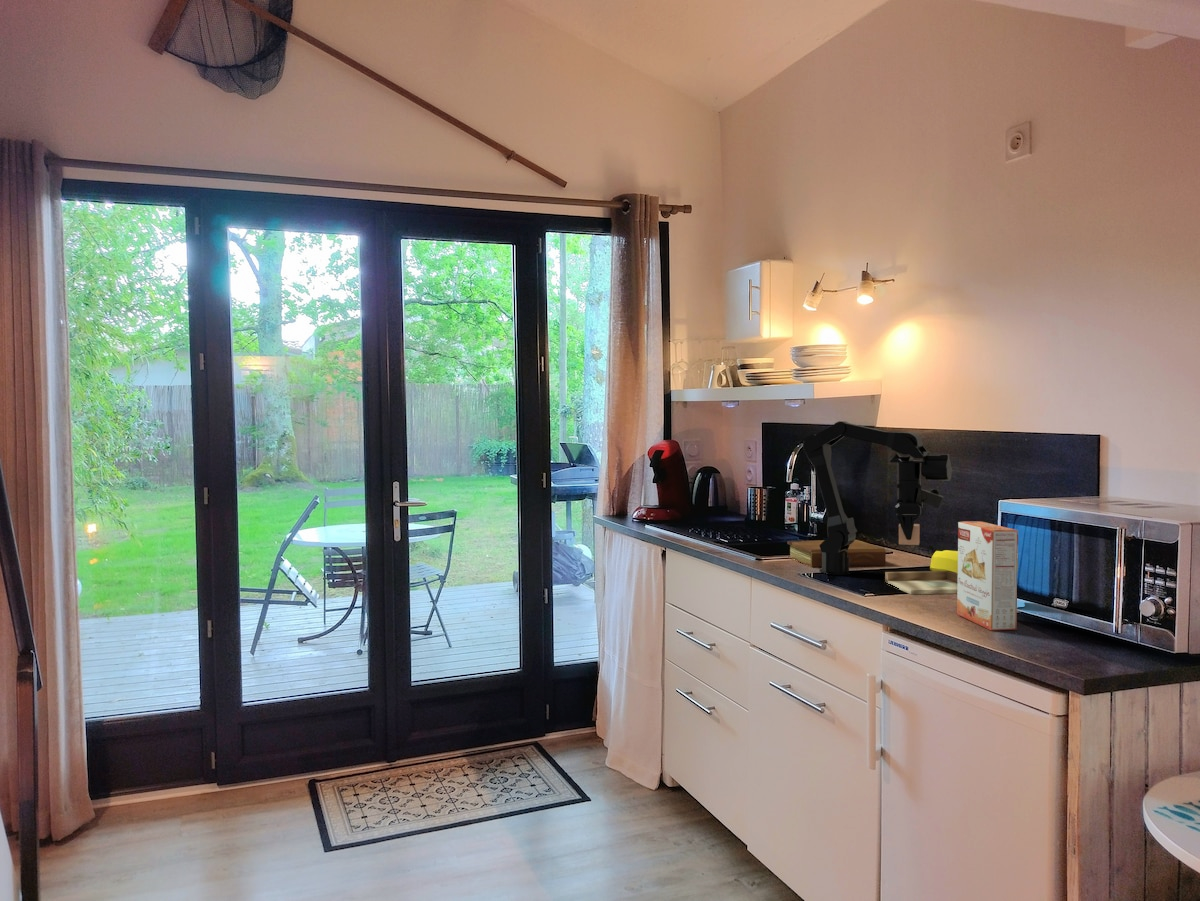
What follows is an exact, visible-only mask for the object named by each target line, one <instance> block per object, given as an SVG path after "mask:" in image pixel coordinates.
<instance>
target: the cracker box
mask: <svg viewBox="0 0 1200 901" xmlns="http://www.w3.org/2000/svg"><path fill="white" fill-rule="evenodd" d="M957 524H958V525H957V526H958V527H957V536H958V537H957V551H958V584H957V593H956V594H957V596H956V597H957V599H956V600H957V601H956V603H957V604H956V610H957V611H956V615H957V616H959V617H962V618H964V619H966V620H968V621H970V622H972V623H974V624H976V625H978V626H981V627H982V628H985V629H987V630H989V631H994V632H995V631H998V632H999V631H1016V630H1017V626H1018V625H1017V623H1018V622H1017V620H1018V618H1017V615H1018V614H1017V613H1018V612H1017V611H1018V608H1017V571H1018V554H1019V530H1018V529H1015V528H1010V527H1006V526H1001V525H997V524H993V523H989V522H986V521H982V520H981V521H980V520H979V521H978V520H977V521H973V520H971V521H970V520H966V521H965V520H964V521H963V520H962V521H958V522H957Z"/></svg>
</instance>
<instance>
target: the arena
mask: <svg viewBox="0 0 1200 901" xmlns="http://www.w3.org/2000/svg"><path fill="white" fill-rule="evenodd" d="M884 574H885V575H884V583H885V582H886V583H888V584H891V585H893V586H895V587H897V588H899V589H898V590H900V591H902V592H904V593H907V594H909V595H935V594H936V595H937V594H940V595H942V594H947V595H949V594H950V595H951V594H957V584H958V573H955V572H952V571H932V570H924V571H923V570H922V571H919V570H918V571H885V572H884ZM888 584H887V585H888ZM895 587H894V588H895ZM897 588H896V589H897Z"/></svg>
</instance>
